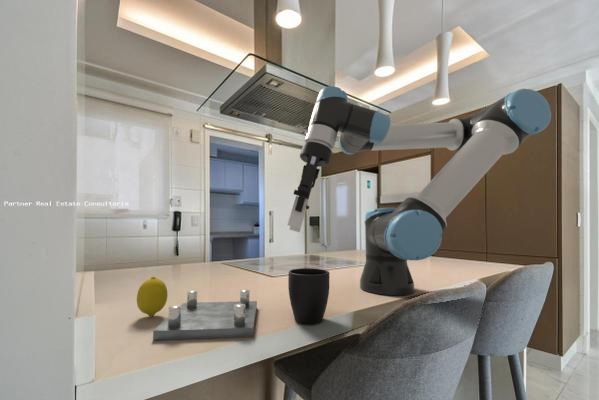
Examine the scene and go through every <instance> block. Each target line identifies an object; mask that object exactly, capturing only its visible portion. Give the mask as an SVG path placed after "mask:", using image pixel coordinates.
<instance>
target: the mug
mask: <svg viewBox="0 0 599 400" xmlns="http://www.w3.org/2000/svg"><path fill="white" fill-rule="evenodd" d="M287 280H288V286H287V287H288V295H289V300H290V305H291V311H292V313H293V316H294V317H293V318H294V321H295V323H297V324H299V325H303V326H314V325H319V324H321V323H322V322H323V321H324V316H325V313H326V311H327V310H326V309H327V306H328V302H329V301H328V300H329V294H330V271H329V270H327V269H323V268H313V267H311V268H310V267H307V268H306V267H304V268H303V267H302V268H301V267H299V268H293V269H290V270H288V279H287Z"/></svg>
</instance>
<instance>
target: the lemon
mask: <svg viewBox="0 0 599 400" xmlns="http://www.w3.org/2000/svg"><path fill="white" fill-rule="evenodd" d="M167 300H168V288H167V286H166V283H165V281H164V280H162V279H160V278H157V277H156V276H151V277H150V278H149V279H146V280H145V281H143V282H142V283H141V285H140V287H139V288H138V291H137V294H136V304H137V309H138V310H139V311H140V312H141V313H142V314H144V315H145V314H146V315H147V316H148V317H150V318H152V317H154V316H155V315H156V314H157V313H159V312H160V311H162V310H163V308H164V307H165V305H166V303H167Z"/></svg>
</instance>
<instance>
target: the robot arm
mask: <svg viewBox="0 0 599 400" xmlns="http://www.w3.org/2000/svg"><path fill="white" fill-rule="evenodd" d="M551 120H552V111H551V107H550V104H549V102H548V100H547V99H546V97H544V95H542V94H541V93H540V92H538V91H536V90H535V89H531V88H528V89H527V88H519V89H517V90H514V91H512V92H509V93H508V94H506V96H503V97H502V98H500V99H498V100H496V101H495V102H493V103H491V104H490V105H488V106H486V107H485V108H483V109H481V110H480V111H477V112H475V113H472V114H471V115H469V116H465V117H461V118H452V119H450V120H449V121H448V122H425V123H423V122H421V123H401V124H400V123H398V124H396V123H395V124H391V118H390V115H388V114H385V113H383V112H380V111H379V110H374V109H371V108H368V107H365V106H360V105H357V104H355V103H352V102H349V101H348V95H347V92H346V91H345V90H343V89H342V88H340V87H337V86H333V85H329V86H325V87H323V88H322V89H321V90H320V91H319V93H318V95H317V98H316V101H315V103H314V107H313V110H312V113H311V118H310V121H309V125H308V128H307V130H304V135H306V136H305V138H304V143H303V144H302V147H301V151H300V153H299V158H300V159H301V161H302V162H304V163H305V164H303V167H302V173H301V179H300V181H299V185H298V186H297V189H294V190H293V195H294V196H295V198H294V202H293V205H292V208H291V212H290V214H289V215H290V216H289V219H288V222H287V226H289V230H291V231H293V232H297V233H300V232H301V230H302V225H303V223H304V222H303V221H304V218H305V215H306V211H307V210H309V209H310V205H308V204H309V203H308V202H309V199H310V195H311V191H312V189H313V188H314V187H315V184H316V180H317V179H318V178H319V174H320V168H318V167H321V168H324V167H327V166H329V165H330V161H331V157H332V155H333V150H334V148H335V145H336V141H337V137H338V132H339V133H340V135H339V139H338V146H339V149H340V150H341V152H342V153H344V154H346V155H354V154H356V153H359V152H367V151H368V152H370V151H389V150H391V151H393V150H394V151H395V150H414V149H415V150H416V149H417V150H419V149H442V148H446V149H447V150H449V151H454V152H455V151H457V152H456V153H455V154H454V155H453V156H452V157H451V159H449V161H447V162H446V164H445V165H443V167H442V168H441V169H440V170H439V172H437V173H436V174H435V175H434V176H433V178H432V179H431V180H430V181H429V182H428V184H427V185H426V186H424V188H423V189H422V190H421V191H420V192H419V193H418V194H417V195H416V196H407V197H406V198H405V199H404V200H403V201H402V203H400V204H399V206H397V207H381V208H374V209H370V210H368V211H367V212H366V214H365V218H364V227H365V228H364V229H365V232H364V234H365V263H364V267H363V269H362V272H361V275H360V280H359V287H360V289H361V290H362V291H365V292H368V293H371V294H372V293H373V294H376V295H377V294H378V295H387V296H404V295H405V296H407V295H410V294H413V293H414V292H415V283H414V279H413V276H412V273H411V271H410V268H409V266H408V261H421V260H425V259H428V258H430V257H431V256H433V255H434V254H435V253H436V252H437V251H438V250H439V248H440V246H441V244H442V240H443V237H442V236H443V235H442V234H443V232H444V231H445V230H446V228H447V226H448V224H447V217H448V216H449V215H450V214H451V212H453V211H454V209H455V208H456V207H457V206H458V205H459V204H460V203H461V202H462V201H463V200H464V198H465V197H466V196H467V195H468V194H469V193H470V191H472V189H473V188H474V187H475V186H476V185H477V184H478V183H479V182H480V180H482V178H483V177H484V176H485V175H486V174H487V173H488V172H489V170H490V169H491V168H492V167H494V165H495V164H496V163H497V162H498V160H499V159H500V158H501V157H502V156H503V155H508V154H509V155H510V154H513V153H514V152H515V151H516V150H517V149H518V148H519V147H520V146H521V145H522V144H523V142H525V140H526V139H528V138H529V137H530V136H531V135H537V134H538V133H541V132H542V131H544V130H545V129H546V128H547V127H548V126H549V124H550V122H551Z"/></svg>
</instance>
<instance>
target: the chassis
mask: <svg viewBox="0 0 599 400" xmlns="http://www.w3.org/2000/svg"><path fill="white" fill-rule="evenodd" d="M239 292H240V293H239V301H213V302H211V301H208V302H207V301H205V302H204V301H203V302H198V290H196V289H195V290H188V291H187V294H186V295H187V296H186V302H182V303H181V304H180V305H179V304H178V305H176V304H175V305H171V306H168V316H167V317H166V319H164V320H163V321H162V322H161V323H160V324H159V325H158V326H157V327H156V328H155V329H154V330H153V332H152V341H171V340H172V341H173V340H175V341H176V340H199V339H200V340H201V339H202V340H203V339H225V338H226V339H227V338H229V339H230V338H253V336H254V329H255V322H256V315H257V308H258V301H257V300H254V301H253V300H250V292H251V291H250V289H248V288H247V289H245V288H244V289H240V291H239Z"/></svg>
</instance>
